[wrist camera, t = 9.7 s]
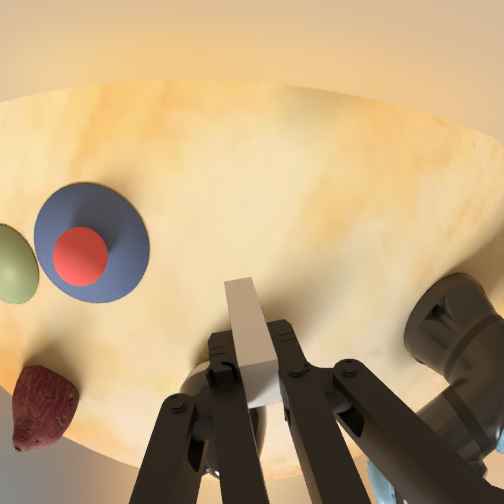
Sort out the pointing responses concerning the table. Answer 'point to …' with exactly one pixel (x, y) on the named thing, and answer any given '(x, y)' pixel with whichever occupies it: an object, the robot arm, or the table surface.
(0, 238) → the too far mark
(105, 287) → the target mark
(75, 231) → the ball
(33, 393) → the vegetable
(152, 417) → the table surface
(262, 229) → the table surface
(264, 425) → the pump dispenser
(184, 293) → the table surface
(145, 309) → the table surface
